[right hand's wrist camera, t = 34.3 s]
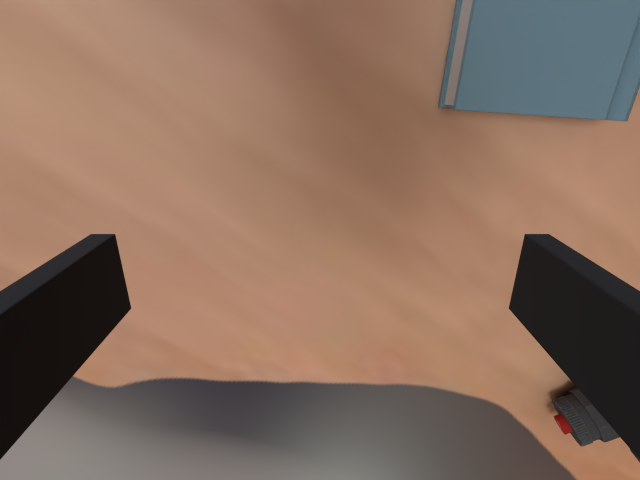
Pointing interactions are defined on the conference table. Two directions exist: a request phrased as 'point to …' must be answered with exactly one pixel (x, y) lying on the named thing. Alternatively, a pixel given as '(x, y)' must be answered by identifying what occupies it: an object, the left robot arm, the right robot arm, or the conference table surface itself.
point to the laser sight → (582, 419)
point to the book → (544, 58)
